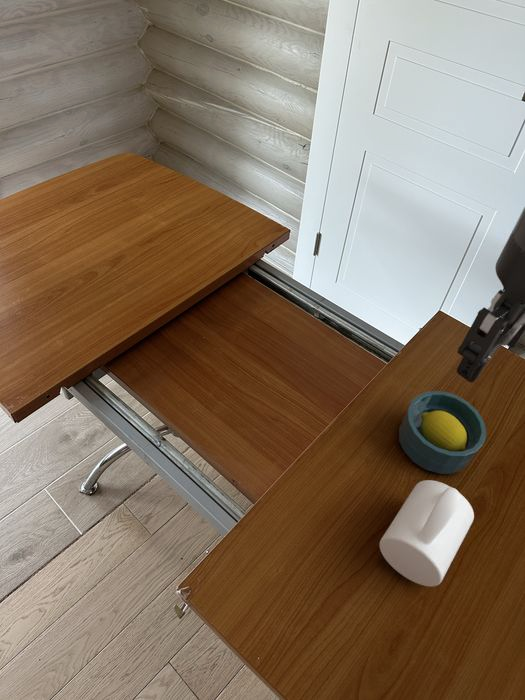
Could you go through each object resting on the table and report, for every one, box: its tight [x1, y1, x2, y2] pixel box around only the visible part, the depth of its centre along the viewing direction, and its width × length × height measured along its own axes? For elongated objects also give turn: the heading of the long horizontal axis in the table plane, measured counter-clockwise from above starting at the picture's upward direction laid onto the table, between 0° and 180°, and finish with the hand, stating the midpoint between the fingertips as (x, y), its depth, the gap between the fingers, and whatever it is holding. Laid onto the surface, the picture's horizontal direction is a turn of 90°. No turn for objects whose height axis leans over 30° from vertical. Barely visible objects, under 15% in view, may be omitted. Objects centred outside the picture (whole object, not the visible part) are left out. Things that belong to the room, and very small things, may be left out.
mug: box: [379, 479, 475, 588], centre depth 65 cm, size 8×10×12 cm
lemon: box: [421, 411, 467, 452], centre depth 78 cm, size 6×6×8 cm
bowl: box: [398, 390, 487, 475], centre depth 78 cm, size 11×12×6 cm
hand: (486, 358), depth 58 cm, fingers open, 8 cm apart
